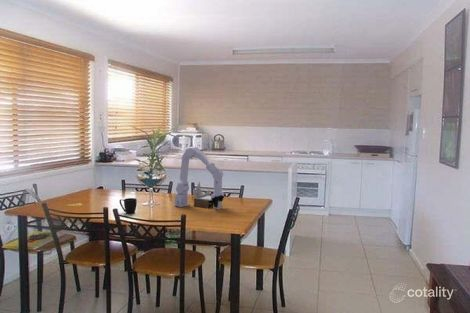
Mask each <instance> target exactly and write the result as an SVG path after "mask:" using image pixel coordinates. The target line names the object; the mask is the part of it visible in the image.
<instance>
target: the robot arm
mask: <svg viewBox="0 0 470 313" xmlns="http://www.w3.org/2000/svg"><path fill="white" fill-rule="evenodd" d="M193 158H197V159H198V160H200V161H201V162H202V163H203V164H204V165H205V166H206V167H205V168H206V170H207V171H208V173H209V172H210V174H211V175H212V178H213V194H211V195H210V196H211V199H212V201H213V204H214V207H217V206H218V201H222V202H224V201H223V200H224V198H225V196H224V195H225V192H224V191H223V176H224V172H223V171H222V170H220V169H219V168H218V167H217V166H216V164H215V163H213V162H210V161H209V160H208V158H207V157H206V156H205V155H204V154H203V152H202V151H201V150H200V149H199V147H197V146H193V147H188V148H187V149H185V150H184V153H183V154H182V156H181V163H180V164H181V166H180V174H179V181H178V182H177V185H176V187H175V191H176V195H175V196H174V204H173V206H174V207H180V208H183V207H186V206H187V207H188V206H191V204H190V203H188V191H189V189H190V186H189V181H188V176H189V167H190V165H189V164H190V160H191V159H193ZM213 204H212V205H213Z"/></svg>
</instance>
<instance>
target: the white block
mask: <svg viewBox="0 0 470 313" xmlns="http://www.w3.org/2000/svg"><path fill="white" fill-rule="evenodd" d="M212 205H213V206H212V207H213V209H214V210H221V209H223V201H218V206H217V207H214V204H212Z"/></svg>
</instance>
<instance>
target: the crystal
mask: <svg viewBox="0 0 470 313" xmlns="http://www.w3.org/2000/svg"><path fill="white" fill-rule="evenodd" d="M192 193H193V198H194V199H195V198H197V196H199V195H203V194H207V196H210V189H208V190H207V191H206V192H204V193H202V187H201V181H199V182H198V183H197V186H196V188H193V191H192Z"/></svg>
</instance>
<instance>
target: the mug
mask: <svg viewBox="0 0 470 313" xmlns="http://www.w3.org/2000/svg"><path fill="white" fill-rule="evenodd" d="M122 201H123V204H122ZM118 203H119V204H120V207H121V209H122V210H123V211H124V213H126V215H132V214H136V209H137V203H138V201H137V198H135V197H128V198H127V197H126V198H124V199H119V202H118Z"/></svg>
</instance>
